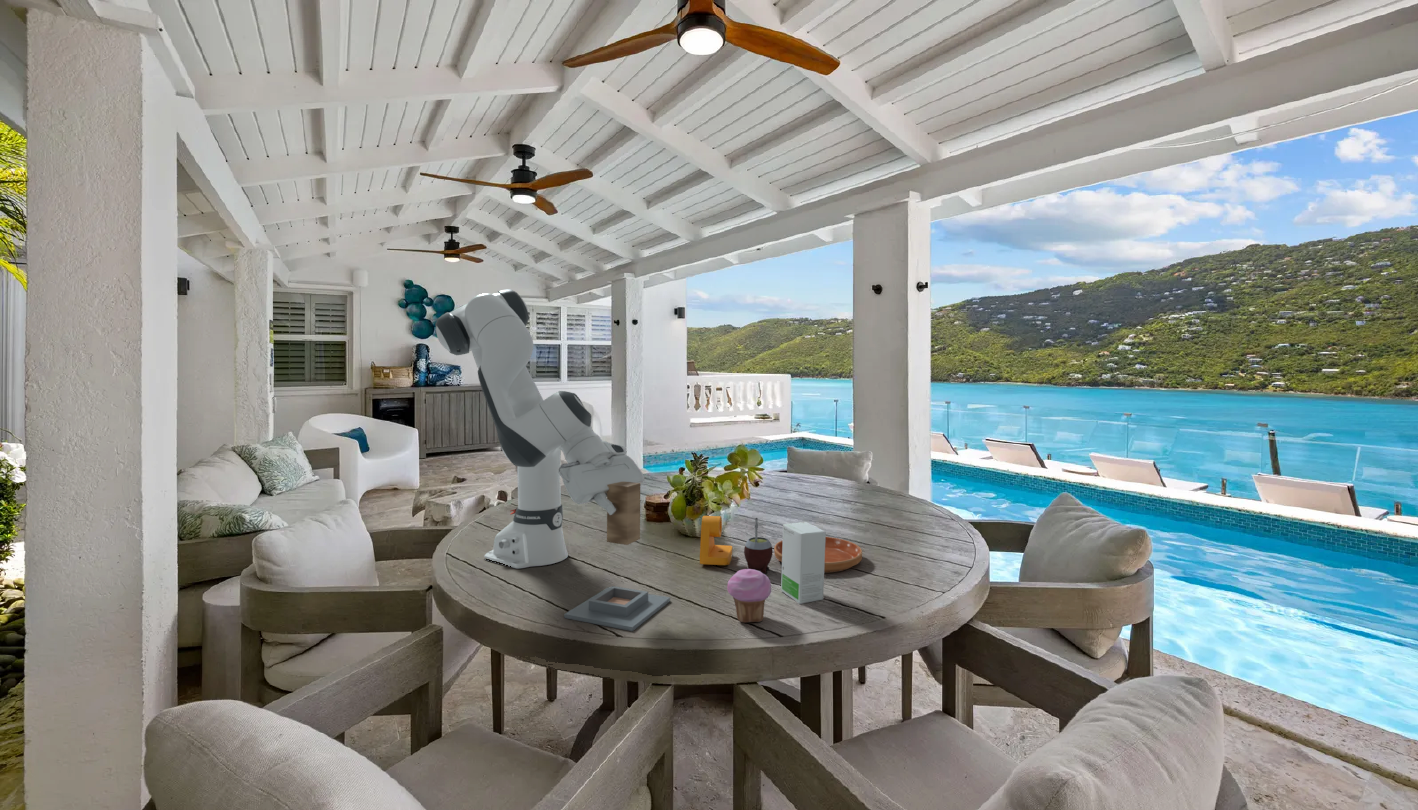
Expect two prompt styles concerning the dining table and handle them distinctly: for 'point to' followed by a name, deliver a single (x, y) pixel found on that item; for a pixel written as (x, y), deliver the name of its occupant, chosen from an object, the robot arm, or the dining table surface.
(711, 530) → the bracket
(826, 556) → the saucer
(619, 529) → the block
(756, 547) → the mate gourd
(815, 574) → the skincare box
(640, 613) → the housing
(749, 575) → the cupcake
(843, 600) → the dining table surface
